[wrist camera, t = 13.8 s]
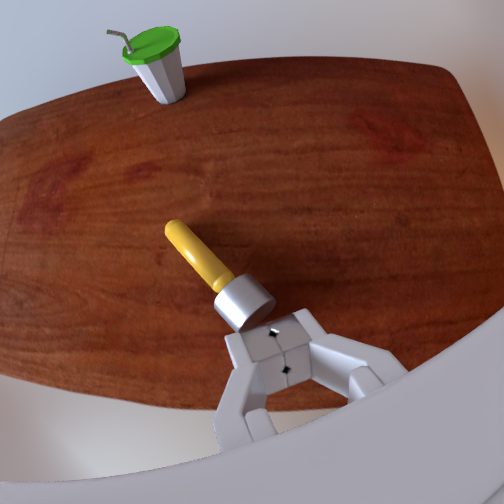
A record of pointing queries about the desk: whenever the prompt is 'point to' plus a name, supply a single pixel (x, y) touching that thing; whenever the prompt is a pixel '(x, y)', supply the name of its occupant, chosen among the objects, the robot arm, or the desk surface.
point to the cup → (157, 61)
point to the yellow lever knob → (223, 281)
